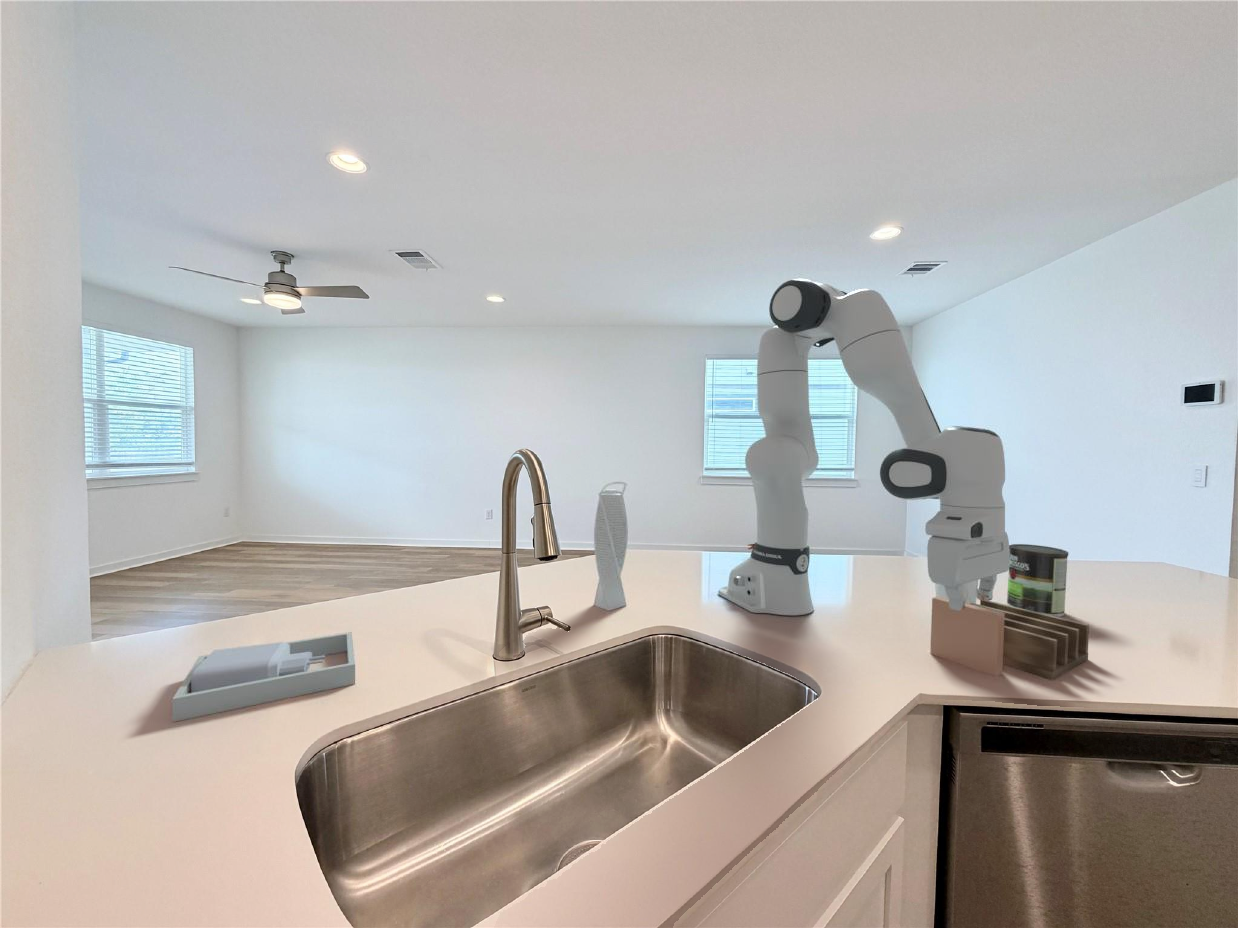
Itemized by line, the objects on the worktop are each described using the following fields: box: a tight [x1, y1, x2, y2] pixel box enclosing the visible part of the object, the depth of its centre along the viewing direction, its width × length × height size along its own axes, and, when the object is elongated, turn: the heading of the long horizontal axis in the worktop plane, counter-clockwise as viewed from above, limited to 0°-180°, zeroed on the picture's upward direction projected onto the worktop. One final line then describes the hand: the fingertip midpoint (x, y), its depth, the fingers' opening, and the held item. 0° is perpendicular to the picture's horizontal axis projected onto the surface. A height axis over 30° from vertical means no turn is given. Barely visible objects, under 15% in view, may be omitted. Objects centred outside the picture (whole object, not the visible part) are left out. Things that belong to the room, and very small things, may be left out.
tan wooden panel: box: [929, 596, 1005, 677], centre depth 83 cm, size 10×2×10 cm, turn 31°
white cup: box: [934, 580, 979, 604], centre depth 106 cm, size 8×8×10 cm
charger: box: [191, 641, 326, 693], centre depth 73 cm, size 5×9×15 cm
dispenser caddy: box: [171, 631, 356, 723], centre depth 74 cm, size 15×21×3 cm
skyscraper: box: [593, 481, 629, 611], centre depth 110 cm, size 8×8×28 cm
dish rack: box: [969, 600, 1090, 681], centre depth 87 cm, size 16×15×6 cm
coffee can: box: [1006, 543, 1069, 618], centre depth 111 cm, size 10×10×14 cm
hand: (971, 604), depth 82 cm, fingers open, 8 cm apart
